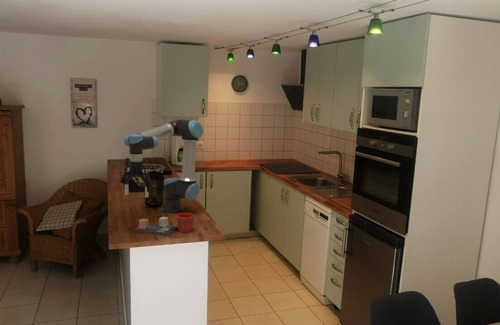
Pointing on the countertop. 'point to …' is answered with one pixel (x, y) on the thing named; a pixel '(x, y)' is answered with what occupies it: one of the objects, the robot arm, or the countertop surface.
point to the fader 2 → (163, 221)
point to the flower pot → (185, 222)
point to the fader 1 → (143, 223)
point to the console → (158, 229)
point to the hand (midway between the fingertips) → (136, 195)
